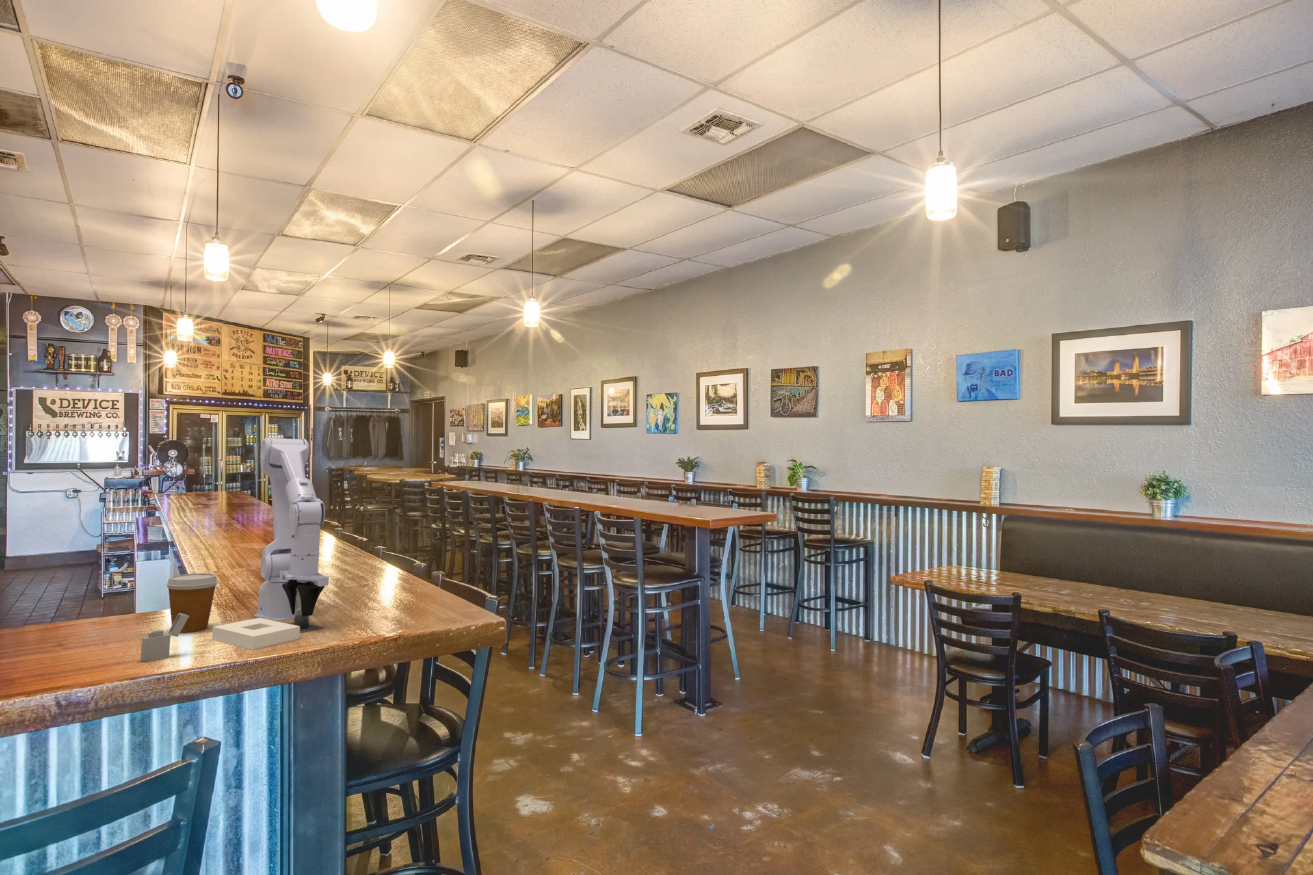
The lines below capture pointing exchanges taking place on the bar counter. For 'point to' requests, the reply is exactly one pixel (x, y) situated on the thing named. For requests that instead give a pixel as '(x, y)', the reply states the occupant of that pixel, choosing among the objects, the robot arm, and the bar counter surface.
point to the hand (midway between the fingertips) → (302, 614)
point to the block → (256, 633)
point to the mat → (311, 628)
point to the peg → (300, 614)
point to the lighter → (161, 640)
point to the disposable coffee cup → (192, 599)
